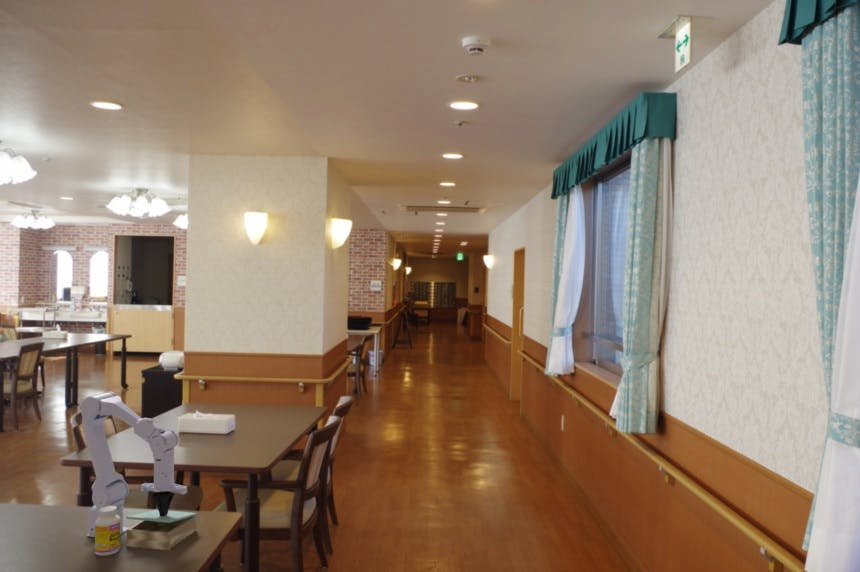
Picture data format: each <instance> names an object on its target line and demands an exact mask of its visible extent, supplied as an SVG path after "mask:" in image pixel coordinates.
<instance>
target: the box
mask: <svg viewBox="0 0 860 572" xmlns="http://www.w3.org/2000/svg"><path fill="white" fill-rule="evenodd" d="M128 528H129V529H127V531H126V547H129V546H131V547H130V548H139V547H141V549H149V550H150V549H151V550H159V549H160V550H159V551H161V550H162V551H170V550H172V549H173V548H175V547H176V546H177V545H178V543H179V542H180V543H181V542H182V540H183V539H184V540H185V539H187V538H188V537H189V535H190V534H191V535H193V534H194V533H195V532H196V531H197V515H195V516H192V517H188V518H185V519H181V520H178V521H174V522H171V523H168V522H157V521H146V520H139V522H138V523H135V524H134V525H132V526H131V527H128ZM194 531H195V532H194ZM193 532H194V533H193ZM191 535H190V536H191ZM187 536H188V537H187ZM186 537H187V538H186ZM184 540H183V541H184ZM180 543H179V544H180ZM176 544H177V545H176ZM175 545H176V546H175ZM172 547H173V548H172ZM171 548H172V549H171Z"/></svg>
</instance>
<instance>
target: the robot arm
mask: <svg viewBox="0 0 860 572" xmlns="http://www.w3.org/2000/svg"><path fill="white" fill-rule="evenodd" d="M79 411H80V414H81V416H82V417H81V425H82V429H83V433H84V437H85V440H86V445H87V447H88V453H89V454H90V455H89V456H90V458H91V463H92V466H93V470H94V473H95V477H96V478H95V480H94V482H93V484H92V486H91V491H92V496H91V500H92V503H93V506H91V509H90V510H89V513H88V534H86V537H92V538H95V521H96V519H97V518H98V517H100V515H99V509H100V508H102V507H105V506H116V507H117V512H116V515H118V516H119V517H120V536H121V535H122V534H124V533H125V532H126V533H127V529H129V528H130V527H127V526H124V503H125V501H126V500H125V499H126V498H127V497H128V495H129V493H130V489H129V485H128V483H127V482H126V481H125V478H124V476H123V474H121V473H119V472H117V471H116V468H115V465H114V461H113V458H112V454H111V450H110V446H109V443H108V439H107V436H106V432H105V428H104V422H105V421H106V419H107V418H108V417H109V416H115V417H116V418H118V419H119V420H121V421H122V422H124V423H126V424H127V425H129V426H131V427H132V428H133V432H134V433H133V434H135V435H137V436H138V437H139V438H141V439H142V440H143V441H144V442H145V443H148V445H149V449H150V450H151V452H152V457H153V482H150V483H149V482H144V483H142V484H140V492H153V493H152V495H151V498H152V499H153V501H154V503H155V505H156V508H157V510H159V514H160V516H166V515H167V514H168V511H170V510H169V509H170V506H171V503H172V501H173V499H174V497H175V495H176V494H180V495H185V494H187V493H188V485H181V484H177V483H175V447H177V445H178V443H179V438H178V435H177V434H176V432H174V431H175V430H172V429H165V428H163V427H161V426H159V425H158V424H157V423H156V422H154V419H152V418H151V417H149V418H148V417H140V415H138V414H137V412H135V411H134V410H133V409H131V408H130V407H129V406H128V405H126V404H125V403H124V402H123V399H122V397H121V396H119V395H117V393H115V392H113V391H107V392H105V393H101V394H96V395H91V396H88V397H85V398H84V399H83V401H82V402H81V404H80V405H79Z"/></svg>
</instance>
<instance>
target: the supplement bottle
mask: <svg viewBox="0 0 860 572" xmlns="http://www.w3.org/2000/svg"><path fill="white" fill-rule="evenodd" d="M116 512H117V507H116V506H105V507H102V508H100V509H99V515H100V517H98V518H97V519H96V521H95V537H94V553H95V555H97V556H102V557H107V556H111V555H114V554H116V553H118V552H119V551H120V550H121V535H120V517H119V516H118V515H116Z"/></svg>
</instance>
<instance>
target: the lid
mask: <svg viewBox="0 0 860 572" xmlns="http://www.w3.org/2000/svg"><path fill="white" fill-rule="evenodd" d="M195 515H196V516H198V513H197V512H189V511H177V510H168V514H167V515H166V516H160V514H159V510H158V509H154V510H149V511H143V512H141V513H136V514H132V515H128V516H126V519H127V520H137V521H138V520H139V521H142V520H146V521H157V522H168V523H171V522H174V521H178V520H181V519H185V518H188V517H192V516H195Z"/></svg>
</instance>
